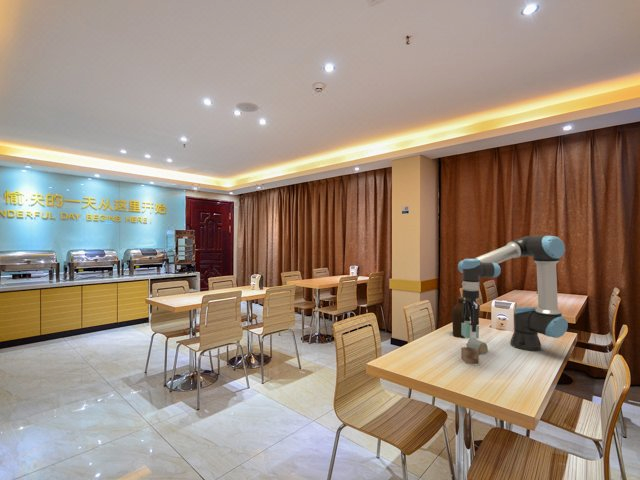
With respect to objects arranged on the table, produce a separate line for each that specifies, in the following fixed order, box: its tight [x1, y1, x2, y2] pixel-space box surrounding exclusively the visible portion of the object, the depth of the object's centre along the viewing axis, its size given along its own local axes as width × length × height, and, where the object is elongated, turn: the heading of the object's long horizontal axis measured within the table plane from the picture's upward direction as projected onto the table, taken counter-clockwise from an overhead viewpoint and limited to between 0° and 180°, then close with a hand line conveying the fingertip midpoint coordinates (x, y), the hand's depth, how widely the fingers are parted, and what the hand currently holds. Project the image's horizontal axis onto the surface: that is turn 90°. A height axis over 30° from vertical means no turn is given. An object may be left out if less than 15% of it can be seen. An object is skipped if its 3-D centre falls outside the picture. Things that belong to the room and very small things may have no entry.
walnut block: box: [460, 346, 480, 365], centre depth 158 cm, size 6×6×6 cm
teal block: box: [461, 322, 480, 340], centre depth 158 cm, size 6×6×6 cm
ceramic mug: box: [466, 338, 489, 355], centre depth 174 cm, size 11×8×8 cm
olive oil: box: [451, 296, 466, 339], centre depth 204 cm, size 11×11×25 cm
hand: (470, 335), depth 158 cm, fingers closed on teal block, 6 cm apart
